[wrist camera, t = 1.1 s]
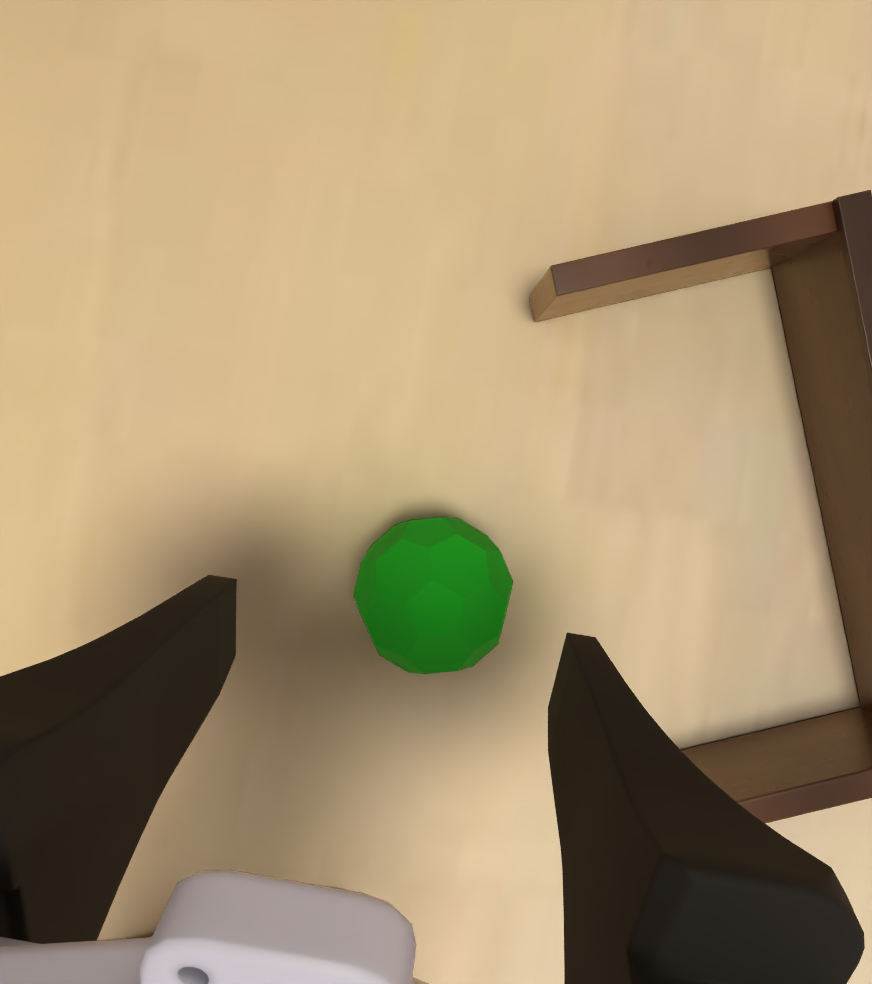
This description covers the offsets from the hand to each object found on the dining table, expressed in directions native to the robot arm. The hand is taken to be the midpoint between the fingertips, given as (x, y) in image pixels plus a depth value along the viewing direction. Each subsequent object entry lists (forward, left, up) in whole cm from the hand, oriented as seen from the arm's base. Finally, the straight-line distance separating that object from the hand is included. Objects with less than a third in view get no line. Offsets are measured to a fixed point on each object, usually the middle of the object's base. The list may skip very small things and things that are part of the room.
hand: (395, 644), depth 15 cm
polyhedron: (+1, -1, -10) cm, 10 cm away
